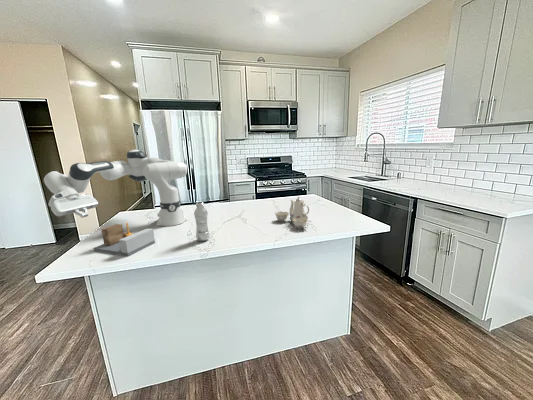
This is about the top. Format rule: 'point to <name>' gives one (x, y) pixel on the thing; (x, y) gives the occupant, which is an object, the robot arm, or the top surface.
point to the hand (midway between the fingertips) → (85, 216)
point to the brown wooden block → (113, 234)
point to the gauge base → (117, 249)
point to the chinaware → (295, 214)
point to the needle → (128, 231)
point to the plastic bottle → (201, 222)
